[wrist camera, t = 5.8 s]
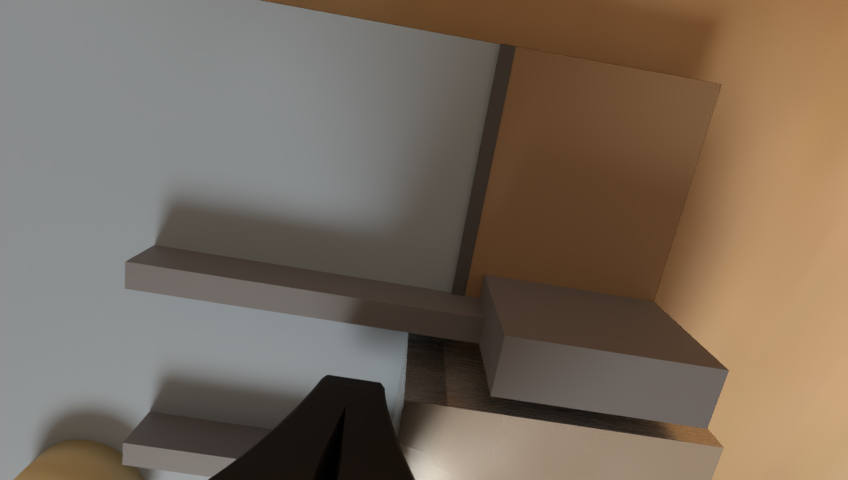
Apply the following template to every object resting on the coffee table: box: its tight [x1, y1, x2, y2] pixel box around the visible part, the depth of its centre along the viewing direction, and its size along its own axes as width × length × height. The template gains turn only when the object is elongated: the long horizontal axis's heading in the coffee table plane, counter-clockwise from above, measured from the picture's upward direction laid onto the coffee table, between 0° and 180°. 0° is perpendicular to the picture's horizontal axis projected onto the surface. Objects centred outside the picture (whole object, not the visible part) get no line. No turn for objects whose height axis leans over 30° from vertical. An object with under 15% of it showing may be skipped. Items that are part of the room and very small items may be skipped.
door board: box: [0, 0, 729, 480], centre depth 12 cm, size 16×16×4 cm
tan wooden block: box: [392, 333, 724, 480], centre depth 11 cm, size 6×3×3 cm, turn 80°
